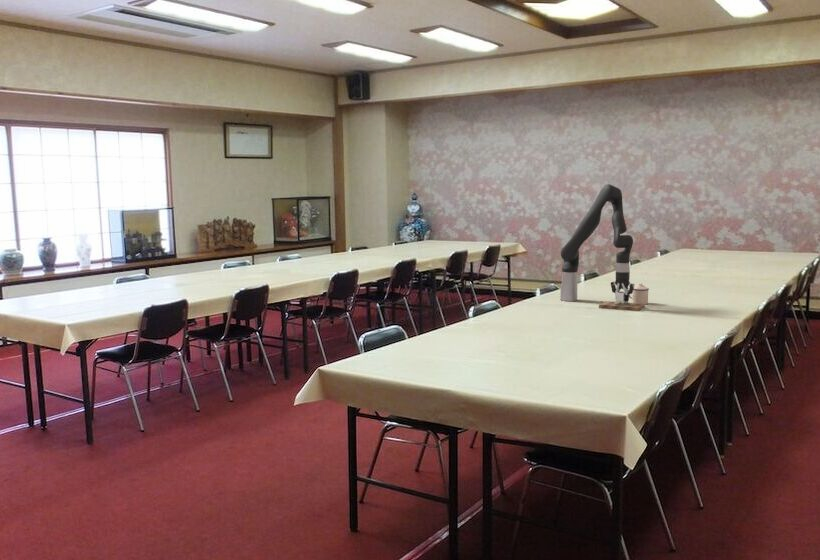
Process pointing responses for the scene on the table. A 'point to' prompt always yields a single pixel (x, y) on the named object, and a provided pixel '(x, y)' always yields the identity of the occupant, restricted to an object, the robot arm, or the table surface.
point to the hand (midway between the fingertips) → (622, 300)
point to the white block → (620, 297)
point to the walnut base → (622, 306)
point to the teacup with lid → (640, 294)
